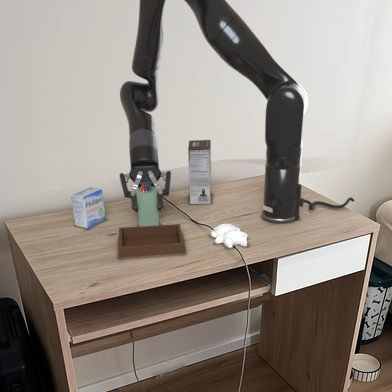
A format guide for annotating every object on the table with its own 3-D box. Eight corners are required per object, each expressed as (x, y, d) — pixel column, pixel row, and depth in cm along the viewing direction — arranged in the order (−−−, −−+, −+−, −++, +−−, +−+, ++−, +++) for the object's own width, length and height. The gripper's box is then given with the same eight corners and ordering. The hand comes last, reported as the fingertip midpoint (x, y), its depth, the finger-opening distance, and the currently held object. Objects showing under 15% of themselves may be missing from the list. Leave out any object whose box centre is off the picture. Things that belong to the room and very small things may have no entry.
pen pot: (158, 221, 149) (156, 178, 142) (159, 229, 144) (157, 185, 138) (138, 222, 148) (134, 179, 142) (138, 230, 144) (135, 186, 137)
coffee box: (190, 194, 167) (188, 139, 158) (211, 193, 167) (210, 139, 157) (189, 204, 159) (187, 148, 150) (211, 204, 159) (211, 147, 150)
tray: (180, 234, 141) (179, 223, 140) (184, 254, 131) (183, 243, 129) (120, 237, 140) (119, 227, 139) (119, 258, 130) (118, 247, 128)
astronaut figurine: (218, 250, 133) (218, 238, 131) (207, 231, 142) (207, 220, 141) (253, 246, 134) (253, 235, 132) (240, 228, 144) (240, 217, 142)
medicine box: (87, 229, 145) (82, 197, 141) (75, 226, 147) (70, 194, 143) (106, 219, 151) (102, 188, 146) (94, 216, 153) (90, 186, 148)
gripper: (115, 145, 141) (119, 205, 138) (170, 142, 142) (175, 202, 139) (117, 160, 149) (121, 217, 146) (170, 157, 150) (174, 214, 147)
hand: (148, 210), depth 142 cm, fingers closed on pen pot, 5 cm apart
